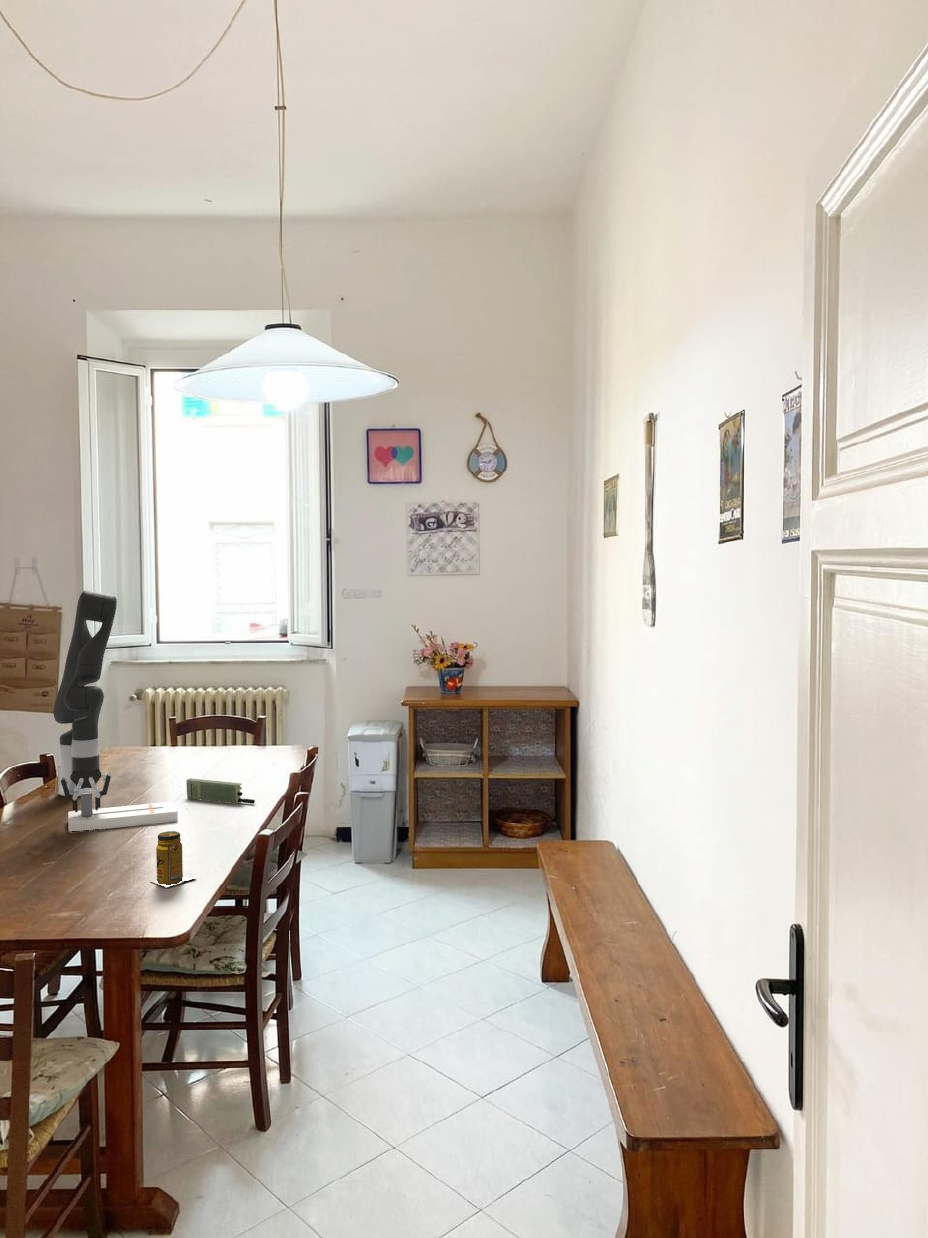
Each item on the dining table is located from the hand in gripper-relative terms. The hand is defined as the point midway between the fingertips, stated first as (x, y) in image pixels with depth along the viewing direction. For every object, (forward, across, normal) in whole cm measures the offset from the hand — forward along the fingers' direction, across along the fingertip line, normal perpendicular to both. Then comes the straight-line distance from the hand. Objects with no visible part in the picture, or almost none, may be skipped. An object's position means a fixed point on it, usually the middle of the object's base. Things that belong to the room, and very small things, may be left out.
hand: (86, 810), depth 266 cm
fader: (+1, 0, 0) cm, 1 cm away
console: (+4, +10, 0) cm, 11 cm away
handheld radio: (+5, +40, +12) cm, 43 cm away
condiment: (+5, +18, -58) cm, 61 cm away
